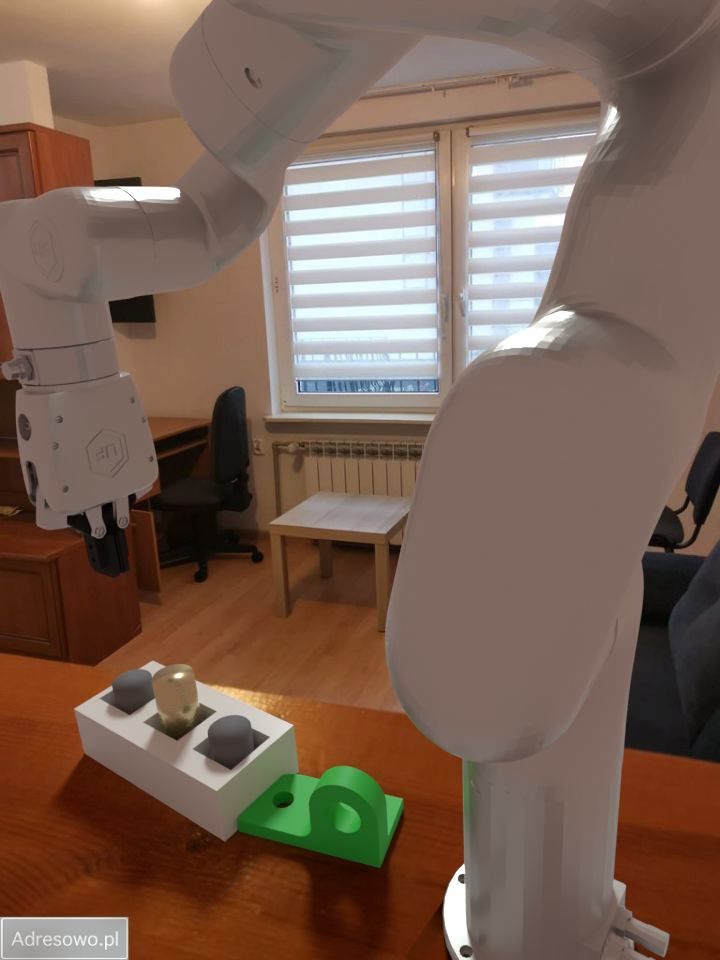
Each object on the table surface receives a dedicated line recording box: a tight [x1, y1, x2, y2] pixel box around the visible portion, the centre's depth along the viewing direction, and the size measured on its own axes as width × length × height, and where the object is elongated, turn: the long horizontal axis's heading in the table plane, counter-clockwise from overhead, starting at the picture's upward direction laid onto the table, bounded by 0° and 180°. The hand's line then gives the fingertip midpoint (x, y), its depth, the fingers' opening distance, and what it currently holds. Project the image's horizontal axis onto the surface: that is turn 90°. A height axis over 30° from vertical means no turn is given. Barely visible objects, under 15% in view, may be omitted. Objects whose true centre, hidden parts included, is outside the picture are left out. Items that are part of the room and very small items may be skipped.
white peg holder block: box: [73, 660, 300, 842], centre depth 65 cm, size 19×9×6 cm, turn 54°
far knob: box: [111, 668, 155, 715], centre depth 68 cm, size 4×4×6 cm
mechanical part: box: [238, 765, 404, 869], centre depth 57 cm, size 12×6×8 cm, turn 70°
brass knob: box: [152, 663, 202, 741], centre depth 63 cm, size 4×4×6 cm
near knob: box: [208, 715, 254, 770], centre depth 61 cm, size 4×4×6 cm
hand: (111, 571), depth 63 cm, fingers closed
